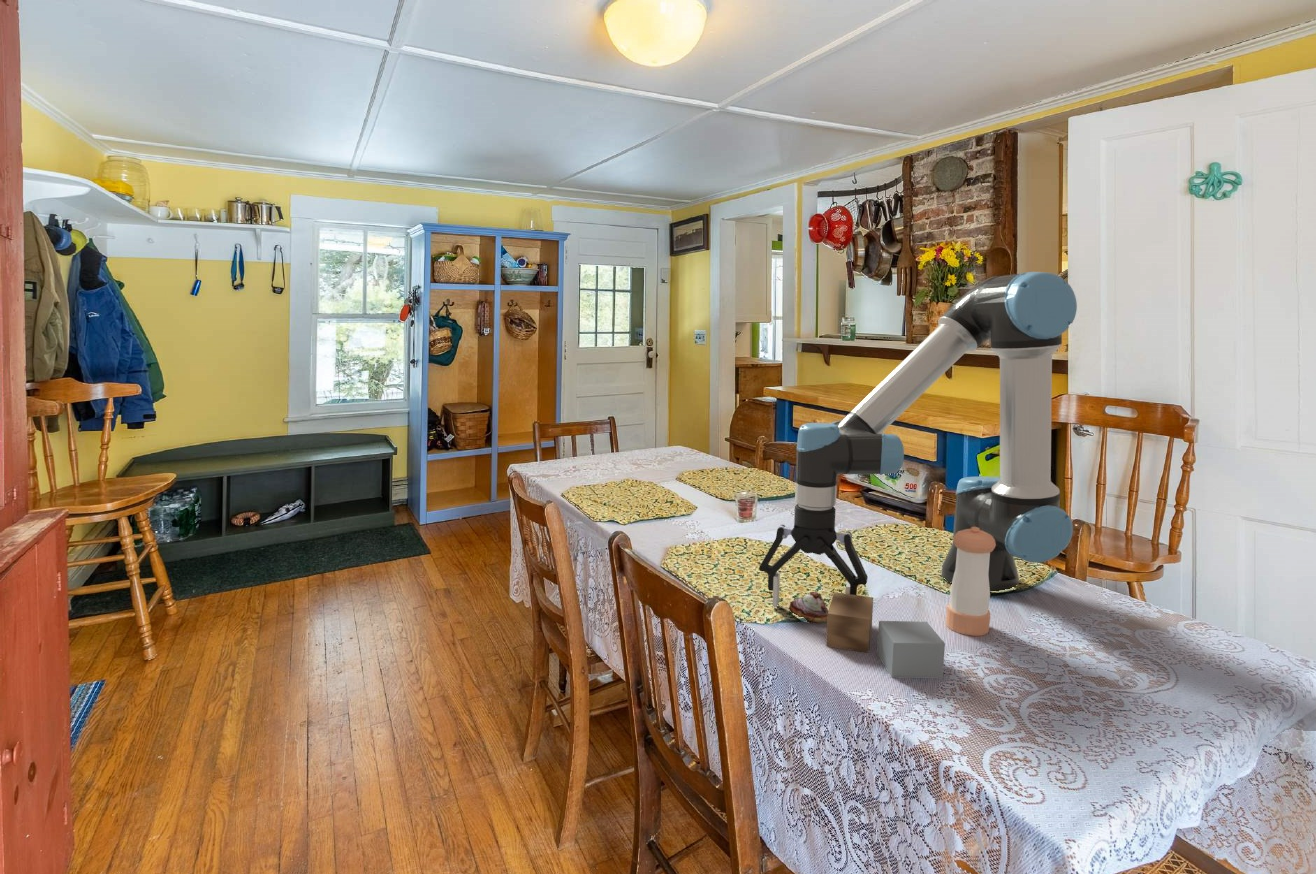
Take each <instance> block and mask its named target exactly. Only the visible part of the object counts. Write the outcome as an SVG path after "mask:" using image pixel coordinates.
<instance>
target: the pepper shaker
mask: <svg viewBox="0 0 1316 874" xmlns="http://www.w3.org/2000/svg"><path fill="white" fill-rule="evenodd" d="M953 542H954V545H955V546H956V547H957V557H956V568H955V572H954V576H953V580H952V584H950V591H949V593H950V594H949V603H948V604H947V606H946V617H945V618H946V619H945V625H946V626H947V628H948V629H950V630H952V631H953V632H956V633H958V634H961V635H966V636H975V637H976V636H984V635H986V634H988V633H989V632H990V621H991V612H990V610H989V609H990V608H989V606H990V599H991V593H990V588H989V576H988V572H989V560H990V552H992V551H993V550H994V548H995V546H996V543H995V540H994V538H993V536H992V535H990V534H988V533H986V532H984V531H981V530H980V529H979V528H978V527H971V529H965V530H961V531H958V532H957V533H956V534H955V535H954V538H953V537H952V543H953Z"/></svg>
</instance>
